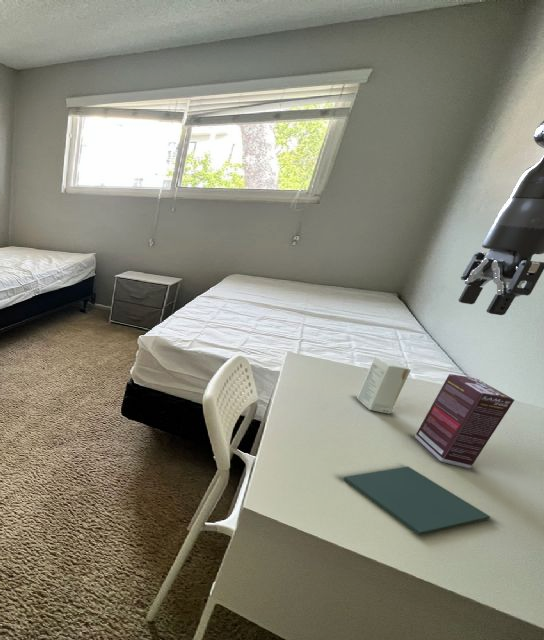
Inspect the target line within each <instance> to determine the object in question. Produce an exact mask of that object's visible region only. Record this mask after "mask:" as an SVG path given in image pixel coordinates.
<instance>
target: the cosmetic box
mask: <svg viewBox="0 0 544 640" xmlns="http://www.w3.org/2000/svg"><path fill="white" fill-rule="evenodd" d="M411 370H412V369H411V368H410V367H408V366H406V365H405V364H403V363H402V362H399V361H398V360H396V359H392V358H387V357H382V356H376V355H375V356H374V357H373V359H372V362H371V364H370V367H369V368H368V371H367V374H366V375H365V379H364V380H363V382H362V384H361V387H360V390H359V392H358V394H357V397H356V399H357V400H358V401H359V402H360V403H361V404H362V405H364V407H366V408H367V409H368V410H369V411H373V412H378V413H384V414H388V415H389V414H391V413H392V410H393V408H394V406H395V405H396V402H397V400H398V398H399V396H400V394H401V392H402V390H403V387H404V385H405V383H406V381H407V378H408V376H409V375H410V374H411V373H410V372H411Z"/></svg>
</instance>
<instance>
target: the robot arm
mask: <svg viewBox="0 0 544 640" xmlns="http://www.w3.org/2000/svg"><path fill="white" fill-rule="evenodd" d="M533 139H534V142H535V144H536V145H538V146H539V147H541V148H543V149H544V120H543V121H541V122H540V123H539V124H538V126H537V127H536V129H535V131H534V134H533ZM481 247H482V248H483V249H486V250H489V251H488V252H480V251H479V252H478V251H476V252H475V253H474V254H473V255H472V256H471V258H470V261H469V262H468V264H467V265H466V268H465V269H464V271H463V273H462V274H461V276H460V280H462V281H464V284H465V287H464V288H463V291H462V292H461V294H460V296H459V298H458V303H461V304H466V305H474V304H476V301H477V300H478V298H479V296H480V294H481V293H482V291H483V289H484V286H485V285H487V284H488V283H489V282H491V281H493V284H495V285H496V293H495V294H494V296H493V298H492V300H491V301H490V303H489V305H488V307H487V308H486V313H488V314H490V315H498V316H504V315H506V313H507V312H508V310H509V308H510V307H511V305H512V303H513V302H514V300H515V298H516V297H520V296H530V295H531V294H532V292H533V290H534V289H535V287H536V285H537V283H538V281H539V279H540V278H541V275H542V274H543V272H544V261H536V260H532V258H533V256H534V255H544V155H543V156H542V157H541V158H540V160H539V161H538V162H537V163H535V164H533V165H531V166H529V167H528V168H526V169H525V170H524V171H523V172H522V174H521V175H520V177H519V178H518V180H517V182H516V184H515V186H514V188H513V189H512V192H511V194H510V195H509V198H508V199H507V200H506V202H505V203H504V205H503V206H502V208H501V209H500V211H499V212H498V213H497V215H496V218H495V219H494V222H493V223H492V225H491V227H490V229H489V231H488V233H487V235H486V236H485V239H484V241H483V242H482V244H481ZM524 284H525V285H524ZM523 285H524V287H522V286H523Z"/></svg>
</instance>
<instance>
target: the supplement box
mask: <svg viewBox="0 0 544 640" xmlns="http://www.w3.org/2000/svg"><path fill="white" fill-rule="evenodd" d="M514 402H515V399H514V398H512V397H511V396H509V395H507V394H505V393H503V392H502V391H500V390H498V389H497V388H494V387H493V386H491V385H489V384H488V383H485V382H484V381H482V380H480V379H479V378H475V377H468V376H464V375H459V374H453V373H449V374H448V375H447V377H446V379H445V381H444V382H443V384H442V386H441V388H440V390H439V392H438V394H437V395H436V397H435V399H434V401H433V403H432V405H430V407H429V410H428V412H427V414H426V415H425V417H424V419H423V421H422V422H421V425H420V427H419V428H418V430H417V432H416V433H415V435H414V438H415V439H416V440H417V441H418V442H419V443H420V444H421V445H422V446H424V447H425V449H427V450H428V451H429V452H430V453H431V454H432V455H433V456H434V457H435V458H437V459H438V460H439V462H440V463H441V462H442V463H445V464H449V465H452V466H455V467H461V468H466V469H471V468H472V467H473V465H474V464H475V462H476V461H477V459H478V457H479V456H480V454H481V453H482V451H483V450H484V448H485V446H486V445H487V444H488V442H489V440H490V439H491V437H492V436H493V434H494V433H495V431H496V430H497V428H498V427H499V425H500V423H501V422H502V420H503V419H504V417H505V415H506V414H507V413H508V411H509V410H510V408H511V406H512V405H513V403H514Z"/></svg>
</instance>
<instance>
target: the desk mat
mask: <svg viewBox="0 0 544 640" xmlns="http://www.w3.org/2000/svg"><path fill="white" fill-rule="evenodd" d="M343 481H345V482H346V483H348V484H349V485H350V486H352V487H353V488H354V489H355V490H357V491H359V492H360V493H361V494H362V495H364V496H365V497H366V498H368V499H369V500H370V501H372V502H373V503H374V504H376V505H377V506H379V507H380V508H382V510H384V511H385V512H387V513H388V514H389V515H391V516H392V517H394V518H395V519H396V520H397V521H399V522H400V523H402V524H403V525H405V527H407V528H408V529H410V530H411V531H412V532H413V533H415V534H417V535H418V536H421V535H425V534H430V533H433V532H439V531H443V530H447V529H451V528H456V527H460V526H464V525H468V524H473V523H478V522H481V521H486V520H489V519H490V518H491V516H490V515H489V514H488V513H486V512H484V511H482V510H480V509H479V508H477V507H476V506H474V505H472V504H471V503H470V502H469V503H468V501H466V500H465V499H462V498H460V497H459V496H458V495H455V494H454V493H453V492H451V491H449V490H448V489H446V488H445V487H443V486H441V485H440V484H437V483H436V482H434V481H433V480H431V479H430V478H428V477H426V476H424V475H423V474H421V473H419V472H418V471H416V470H414V469H413V468H411V467H410V466H403V467H397V468H391V469H385V470H379V471H378V470H377V471H371V472H366V473H365V472H364V473H360V474H359V473H358V474H353V475H347V476H344V477H343Z"/></svg>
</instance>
